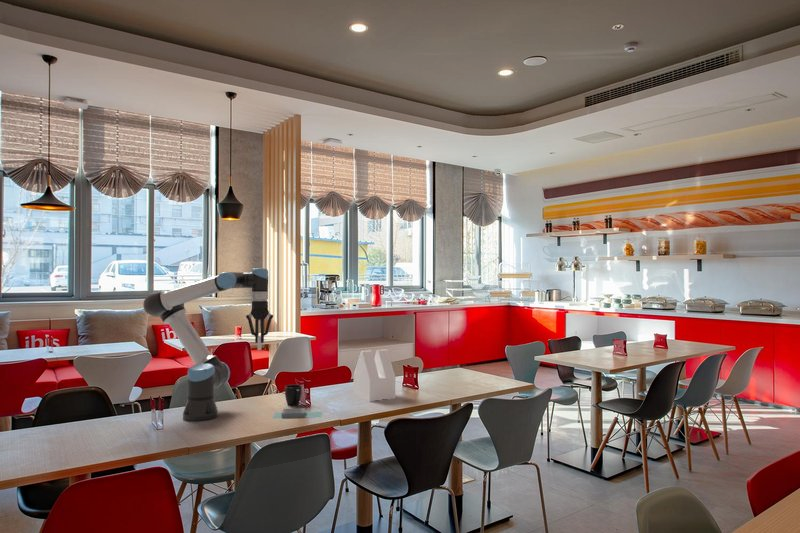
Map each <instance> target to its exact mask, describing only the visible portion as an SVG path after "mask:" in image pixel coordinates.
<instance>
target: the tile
mask: <svg viewBox="0 0 800 533" xmlns="http://www.w3.org/2000/svg"><path fill="white" fill-rule="evenodd" d="M305 412H306V408H304V407H303V408H302V407H301V408H300V407H299V408H296V407H295V408H283V410H282V412H281V413H282V418H281V419H287V418H286V417H304V415H305Z"/></svg>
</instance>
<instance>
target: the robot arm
mask: <svg viewBox="0 0 800 533" xmlns="http://www.w3.org/2000/svg"><path fill="white" fill-rule="evenodd" d="M230 289H251V300H252V301H251V311H250V312H249V314H247V315H246V316H245V318H246V320H248V326H249V330H250V334H251V335H252V336H254V338H255V339H254V342H255V344H257V351H261V350H262V344H263V343H264V342H265V336H267V335H268V334H269V330H270V326H271V322H272V319H273V318H274V315H273V314H272V313H270V310H269V301H268V300H269V269H267V268H264V267H263V268H255V267H254V268H252V269H251V271H250V272H243V271H242V272H240V271H238V272H237V271H236V272H235V271H234V272H233V271H223V272H220V273H219V274H218V275H215V276H212V277H209V278H205V279H201V280H198V281H196V282H192V283H190V284H186V285H183V286H181V287H177V288H174V289H171V290H166V289H165V290H161V291H156V292H152V293H149V294H148V295H147V296H146V297H145V298H144V301H143V309H144V311H145V313H146V314H147V315H149V316H150V317H155V318H158V317H160V319H161V321H162V322H163V324H166V325H169V327H170V328H171V330H172V331H173V333H174V335H175V336H176V337H177V338H178V340H179V342H180V344H181V345H182V346H183V348H184V350H186V352H187V354H188V355H189V357H190V358H191V361H192V362H193V363H194V365H191V366H190V367H189V368H188V370H187V374H186V377H187V378H186V379H187V380H186V381H187V384H186V385H187V389H186V390H187V391H186V397H187V398H186V403H185V406H184V409H183V411H182V419H183V420H185V421H189V422H201V421H207V420H212V419H216V418H217V417H218V416H219V411H218V407H217V404H216V401H215V389H218V388H221V387H222V386H224V385H225V384H227V382H228V381H229V379H230V377H231V376H230V375H231V370H230V367H229V366H228V364H226V362H223V361H220V359H219V358H218V356H217V355H215V354H214V355H213V354H212V353H211V352H210V350H209V349H208V347H207V345H206V344H205V343H204V341H203V339H202V338H201V336H200V335H199V332H197V330H196V329H195V328H194V325H193V324H192V323H191V321H190V320H189V318H188V317H187V316H186V312H187V309H186V307H185V304H187V303H190V302H191V301H196V300H198V299H202V298H203V297H208V296H211V295H214V294H218V293H221V292H223V291H227V290H230ZM252 318H253V319H254V321H255V323H254V325H253V320H252ZM266 318H268V320H267V323H266V327H265V320H266ZM254 328H255V329H254ZM259 328H260V330H259ZM259 331H260V333H259ZM259 334H260V335H259Z"/></svg>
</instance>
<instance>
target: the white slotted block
mask: <svg viewBox="0 0 800 533" xmlns="http://www.w3.org/2000/svg"><path fill="white" fill-rule="evenodd" d="M395 374H396V373H395V371H394V367H393V363H392V360H391V357H390V353H389V349H387V348H385V349H376V351H375V355H374V354H373V350H361V351H360V353H359V356H358V359H357V362H356V364H355V369H354V372H353V391H352V392H353V393H352V394H354V395H353V396H355V395H356V396H355V397H357V396H358V398H360V397H361V398H360V399H362V398H363V399H362V400H364V399H365V401H367V400H368V401H367V402H369V401H372V402H375V401H374V400H380V401H383V400H382V399H388V400H391V399H390V398H395V399H396V375H395Z"/></svg>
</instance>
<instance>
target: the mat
mask: <svg viewBox="0 0 800 533" xmlns="http://www.w3.org/2000/svg"><path fill="white" fill-rule="evenodd" d="M322 415H323V411H305V415H304V417H286V418H285V419H296V418H297V419H298V418H300V419H302V418H308V419H309V418H322ZM272 419H283V418H282V412H274V414H273V416H272Z"/></svg>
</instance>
